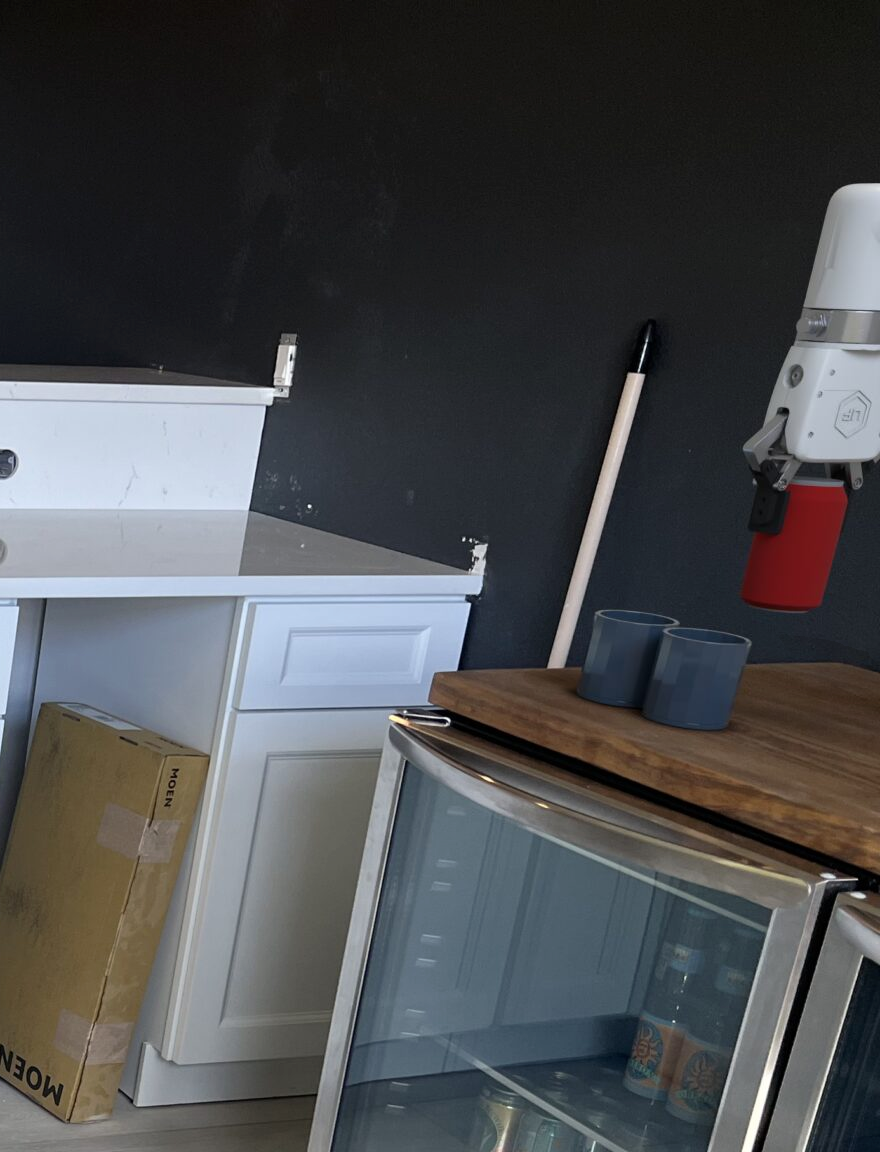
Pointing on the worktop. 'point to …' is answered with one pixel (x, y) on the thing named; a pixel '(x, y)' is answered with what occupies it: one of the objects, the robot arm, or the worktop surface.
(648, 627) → the tumbler far
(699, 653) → the tumbler mid
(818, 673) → the worktop surface
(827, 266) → the robot arm
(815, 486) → the beverage can
